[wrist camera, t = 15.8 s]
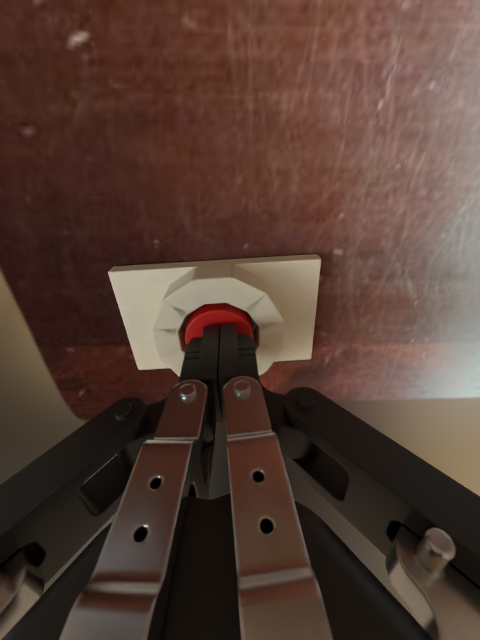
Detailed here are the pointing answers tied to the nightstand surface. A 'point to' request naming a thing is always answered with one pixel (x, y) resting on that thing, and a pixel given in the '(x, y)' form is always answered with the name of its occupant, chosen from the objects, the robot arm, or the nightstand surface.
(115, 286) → the switch box
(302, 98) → the nightstand surface
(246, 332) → the power button
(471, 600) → the robot arm
